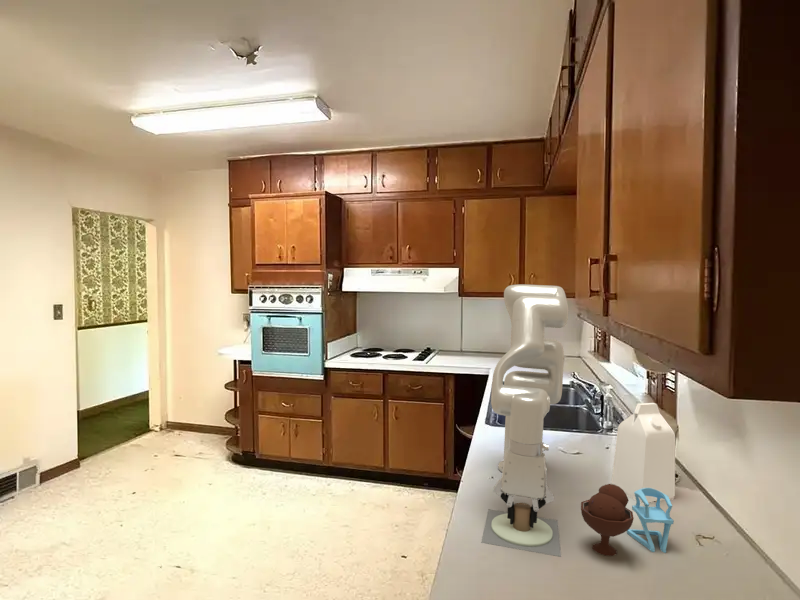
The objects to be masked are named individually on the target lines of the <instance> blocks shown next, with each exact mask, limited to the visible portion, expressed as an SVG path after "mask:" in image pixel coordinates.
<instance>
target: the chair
mask: <svg viewBox="0 0 800 600" xmlns="http://www.w3.org/2000/svg"><path fill="white" fill-rule="evenodd" d="M634 494H635V497H636V500H635V502H636V503H635V504H634V505H631V510H633V512H634V513H635V515H637V518H638V519H639V521H640V524H641V527H642V528H643V529H634V528H632V529H631V528H630V529H629V530H627V531H626V534H627V535H628V536H630V537H631V538H633V539H634V540H635V541H637V542H638V543H639V544H640V545H642V546H644V547H645V548H646V549H648V550H649V551H650V552H651V553H655V551H656V548H655V544H654V541H653V538H652V537H651V536H657V540H658V545H659V549H660V551H661V552H662V553H665V554H666V553H667V546H668V540H669V535H670V531H671V527H672V525H674V521H675V520H674V519H673V518H672V517H671V516H670V515H671V510H672V508H673V504H672V502H671V501H672V500H670V499H669V497H668V496H667V495H666V494H664V493H662V492H660V491H658V490H655V489H652V488H642V489H639V490H637V491H635V492H634ZM645 496H653V497H656V498H657V502H655V506H650V503H648V501H647V499H646V497H645ZM638 497H639V498H640V499H641V500H642V502H643V503H644V504H643V505H641V503H640V500H639V498H638ZM661 498H663V499H664V500H665V503H666V505H667V509H666V511H664V510H663V509H662V508H661V501H660V499H661ZM651 523H653V524H654V523H660V524H663V527H664V528H663V532H661V531H659V530H652V529H651V530H650V529H649V528H648V525H647V524H651ZM662 533H663V534H662ZM640 535H645V537H646V539H644V538H643V537H642V536H640Z"/></svg>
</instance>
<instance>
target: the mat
mask: <svg viewBox="0 0 800 600" xmlns="http://www.w3.org/2000/svg"><path fill="white" fill-rule="evenodd" d="M507 513H508V511H504V510H499V509H498V510H497V509H492V508H488V511H487V515H486V520H485V522H484V523H485V524H484V528H483V534H482V537H481V538H482V539H481V542H480V543H481V544H487V545H493V546H497V547H503V548H510V549H514V550H518V551H519V550H520V551H524V552H525V551H526V552H532V553H536V554H544V555H549V556H553V557H559V558H561V557H562V552H561V542H560V541H561V540H560V532H559V531H560V530H559V521H558V519H554V518H553V519H552V518H546V517H540V516H537V518H538V519H540V520H542V521H544V522H545V523H547V524H548V525H549V526H550V527H551V529H552V532H553V535H552V540H551V541H550V542H549V543H547V544H545V545H542V546H537V547H526V546H519V545H515V544H511V543H509V542H506V541H504V540H502V539H501V538H499V537H498V536H496V535H495V534H494V532H493V531H492V528H491V525H492V520H493V519H494V518H495V517H496V516H498V515H501V514H507Z"/></svg>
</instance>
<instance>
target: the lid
mask: <svg viewBox="0 0 800 600" xmlns="http://www.w3.org/2000/svg"><path fill="white" fill-rule="evenodd" d="M531 507H532V505H530V504H528V503H525V502H515V503H514V519H513V524H510V519H508V518H507V516H508V513H507V514H501V515H498V516H496V517H495V518H494V519H493V520H492V525H491V528H492V531H493V532H494V534H495V535H496V536H498V537H499V538H501V539H502V540H504V541H506V542H509V543H511V544H515V545H519V546H526V547H537V546H542V545H545V544H547V543H549V542H550V541H551V540H552V535H553V532H552V529H551V527H550V526H549V525H548V524H547V523H545V522H544V521H542V520H540V519H538V518H537V523H534V525H533V528H531V527H530V521H531Z"/></svg>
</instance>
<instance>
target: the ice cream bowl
mask: <svg viewBox="0 0 800 600" xmlns="http://www.w3.org/2000/svg"><path fill="white" fill-rule="evenodd" d="M628 503H629V497H628V496H627V495H626V493H625V492H624V490H623V489H621V488H620V487H619V486H616V485H613V484H611V483H608V484H604V485H602V486H600V487H599V488H598V492H596V493H595V494H594V495H592V496H591V497H590V498H589V499H586V500H583V501H581V503H580V510H581V516H582V519H583V521H584V522H585V523H586V524H587V525H588V527H590V529H592V530H594V532H596V533H597V534H599V535H600V542H596V543H594V544H592V547H591V548H592V550H593V551H594V552H596V554H597V553H598V554H599V555H602V556H608V557H613V556H616V555H617V554H618V551H617V549H616V548H614V547H613V546H612V545H610V538H611V537H616V536H619V535H622V534H624V533H625V532H626V533H627V530H629V529H631V527H632V525H633V522H634V518H635V517H634V514H633V511H632V510H630V509H629V508H627V504H628Z"/></svg>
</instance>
